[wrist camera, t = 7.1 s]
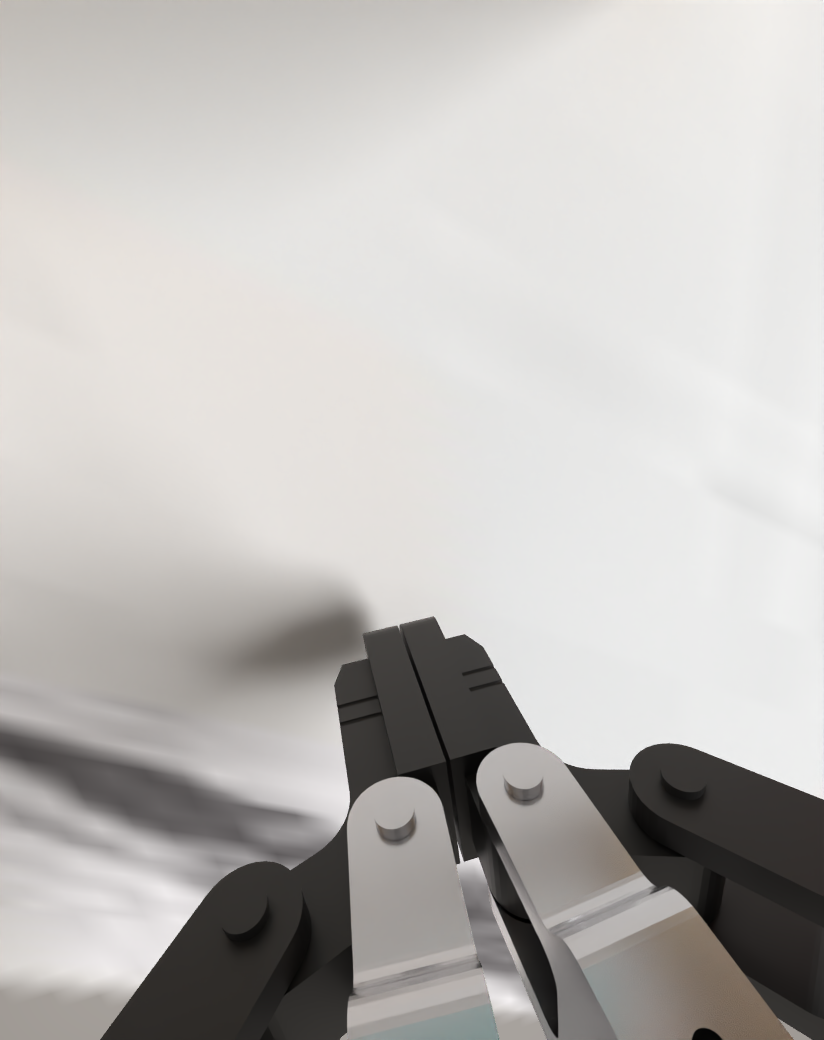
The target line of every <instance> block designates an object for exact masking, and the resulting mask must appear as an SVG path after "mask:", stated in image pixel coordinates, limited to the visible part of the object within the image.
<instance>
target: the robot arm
mask: <svg viewBox="0 0 824 1040" xmlns="http://www.w3.org/2000/svg"><path fill="white" fill-rule="evenodd" d="M363 638H364V644H365V649H366V653H367V658H368V659H365V660H361V661H357V662H353V663H349V664H345V665H342V667H341V670H340V672H339V675H338V677H337V680H336V682H335V685H334V686H335V693H336V700H337V707H338V714H339V721H340V726H341V727H340V728H341V735H342V742H343V749H344V756H345V763H346V770H347V777H348V784H349V791H350V806H349V811H348V814H347V817H346V819H345V822H344V824H343V826H342V827H341V829H340V830H339V832H338V833H337V835H336V836H335V837H334V838H333V839H332V841H331V842H329V843H328V844H327V845H326V846H325V847H324V848H323V849H322V850H320V851H319V852H318V853H316V854H315V855H313V856H312V857H310V858H309V859H307V860H306V861H304V862H303V863H301V864H299V865H298V866H296V867H295V868H293V869H292V870H289V869H288V868H286V867H285V866H283V865H281V864H278V863H275V862H267V861H264V862H255V863H251V864H247V865H245V866H243V867H240V868H238V869H236V870H235V871H233V872H231V873H229V874H228V875H227V876H225V877H224V878H223V879H221V880H220V881H219V882H218V883H217V884H216V885H215V886H214V887H213V888H212V890H211V891H210V892H209V893H208V894H207V896H206V897H205V898H204V900H203V901H202V902H201V904H200V905H199V906H198V908H197V909H196V910H195V912H194V913H193V915H192V916H191V917H190V919H189V920H188V921H187V923H186V924H185V925H184V927H183V928H182V929H181V931H180V932H179V934H178V935H177V936H176V938H175V939H174V940H173V942H172V943H171V944H170V946H169V947H168V948H167V950H166V951H165V953H164V954H163V955H162V957H161V958H160V959H159V961H158V962H157V963H156V965H155V966H154V967H153V969H152V970H151V972H150V973H149V974H148V976H147V977H146V978H145V980H144V981H143V982H142V984H141V985H140V986H139V988H138V989H137V991H136V992H135V993H134V995H133V996H132V997H131V999H130V1000H129V1001H128V1003H127V1004H126V1006H125V1007H124V1008H123V1010H122V1011H121V1012H120V1014H119V1015H118V1016H117V1018H116V1019H115V1020H114V1022H113V1023H112V1024H111V1026H110V1027H109V1029H108V1030H107V1031H106V1033H105V1034H104V1035H103V1037H102V1038H101V1039H100V1040H340V1038H341V1037H342V1036H343V1035H344V1034H345V1033H347V1038H348V1039H347V1040H499V1035H498V1031H497V1027H496V1023H495V1018H494V1014H493V1010H492V1005H491V1001H490V997H489V993H488V989H487V985H486V981H485V977H484V973H483V969H482V966H481V963H480V961H479V960H478V957H477V953H476V949H475V945H474V941H473V936H472V932H471V928H470V923H469V919H468V915H467V910H466V906H465V901H464V897H463V893H462V888H461V884H460V880H459V875H458V871H457V866H456V864H459V863H460V858H459V851H458V845H459V848H460V851H461V854H462V857H463V860H464V862H465V861H468V860H471V859H474V858H477V857H479V860H480V863H481V865H482V868H483V871H484V874H485V877H486V879H487V883H488V892H489V900H490V905H491V908H492V911H493V913H494V916H495V918H496V921H497V923H498V925H499V928H500V930H501V932H502V935H503V937H504V939H505V942H506V944H507V946H508V949H509V951H510V954H511V956H512V958H513V961H514V963H515V965H516V968H517V970H518V972H519V975H520V977H521V979H522V982H523V984H524V987H525V989H526V991H527V994H528V996H529V998H530V1001H531V1003H532V1005H533V1008H534V1010H535V1013H536V1015H537V1017H538V1020H539V1022H540V1024H541V1027H542V1029H543V1031H544V1034H545V1036H546V1038H547V1040H793V1038H792V1037H791V1036H790V1034H789V1033H788V1032H787V1030H786V1029H785V1028H784V1026H783V1025H782V1024H781V1022H780V1021H779V1020H778V1019H780V1020H782V1021H783V1022H785V1023H787V1024H788V1025H790V1026H791V1027H793V1028H795V1029H796V1030H798V1031H799V1032H801V1033H803V1034H804V1035H806V1036H807V1037H809V1038H811V1039H812V1040H824V800H823V799H820V798H818V797H815V796H813V795H810V794H808V793H805V792H803V791H800V790H798V789H795V788H793V787H790V786H787V785H785V784H782V783H780V782H777V781H775V780H772V779H770V778H767V777H765V776H762V775H760V774H757V773H755V772H752V771H750V770H747V769H745V768H742V767H740V766H737V765H735V764H732V763H730V762H727V761H725V760H722V759H720V758H717V757H714V756H712V755H709V754H707V753H704V752H702V751H699V750H697V749H694V748H691V747H688V746H684V745H679V744H670V743H668V744H657V745H653V746H650V747H647V748H645V749H643V750H642V751H640V752H639V753H638V754H637V755H636V756H635V758H634V759H633V761H632V763H631V766H630V770H600V769H584V768H579V767H575V766H571V765H568V764H566V763H564V762H562V760H561V759H560V758H559V757H558V756H556V755H555V754H554V753H552V752H551V751H549V750H548V749H545V748H543V747H541V746H540V745H539V743H538V742H537V740H536V739H535V737H534V735H533V733H532V732H531V730H530V728H529V726H528V725H527V723H526V721H525V719H524V718H523V716H522V714H521V712H520V711H519V709H518V707H517V705H516V704H515V702H514V700H513V698H512V697H511V695H510V693H509V691H508V690H507V688H506V686H505V684H504V683H502V679H501V678H500V676H499V674H498V672H497V671H496V669H495V668H494V666H493V664H492V662H491V660H490V658H489V657H488V655H487V653H486V651H485V650H484V648H483V647H482V646H481V645H479V644H478V643H477V642H475V641H474V640H472V639H471V638H469V637H468V636H466V635H465V634H464V635H460V636H456V637H452V638H448V639H445V637H444V635H443V633H442V631H441V629H440V627H439V625H438V623H437V621H436V619H435V617H434V616H433V617H429V618H425V619H421V620H417V621H413V622H409V623H405V624H400V631H399V628H398V626H393V627H389V628H385V629H380V630H376V631H372V632H368V633H364V634H363ZM457 842H458V844H457Z"/></svg>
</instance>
